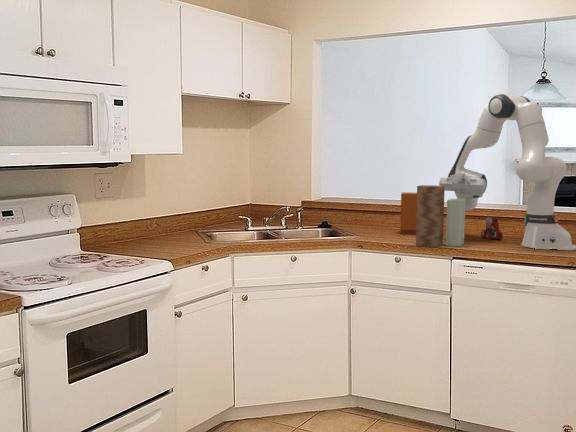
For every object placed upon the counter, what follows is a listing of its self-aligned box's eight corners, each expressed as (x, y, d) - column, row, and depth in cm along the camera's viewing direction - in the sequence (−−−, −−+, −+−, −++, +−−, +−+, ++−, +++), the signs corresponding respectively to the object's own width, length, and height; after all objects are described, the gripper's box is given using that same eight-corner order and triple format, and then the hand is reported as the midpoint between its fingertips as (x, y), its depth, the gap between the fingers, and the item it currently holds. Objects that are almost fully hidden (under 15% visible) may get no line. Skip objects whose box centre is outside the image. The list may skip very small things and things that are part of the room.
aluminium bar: (465, 180, 311) (466, 173, 311) (456, 182, 293) (457, 175, 293) (459, 179, 312) (459, 173, 312) (449, 182, 294) (450, 175, 294)
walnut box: (442, 244, 304) (444, 185, 301) (438, 246, 296) (440, 186, 293) (420, 242, 308) (422, 185, 305) (415, 245, 300) (417, 186, 297)
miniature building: (419, 234, 335) (420, 194, 333) (400, 234, 337) (401, 193, 335) (419, 232, 345) (420, 192, 343) (401, 231, 347) (401, 192, 344)
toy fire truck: (489, 241, 315) (490, 218, 314) (479, 237, 327) (480, 215, 326) (504, 241, 316) (505, 218, 314) (493, 237, 328) (494, 215, 327)
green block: (463, 243, 306) (465, 199, 304) (459, 246, 297) (461, 200, 295) (450, 242, 309) (451, 198, 307) (445, 245, 300) (447, 200, 298)
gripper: (442, 183, 322) (437, 169, 311) (487, 184, 314) (483, 170, 302) (440, 195, 320) (435, 181, 309) (485, 197, 312) (481, 183, 300)
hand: (459, 176), depth 305 cm, fingers closed on aluminium bar, 3 cm apart
